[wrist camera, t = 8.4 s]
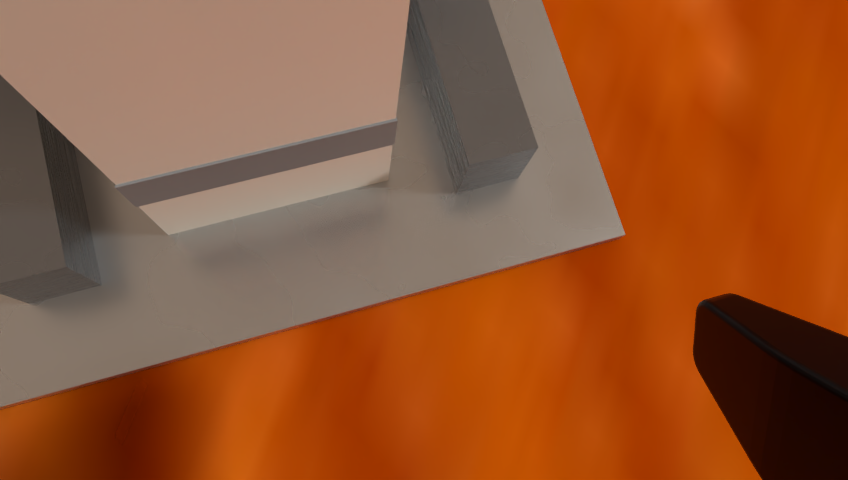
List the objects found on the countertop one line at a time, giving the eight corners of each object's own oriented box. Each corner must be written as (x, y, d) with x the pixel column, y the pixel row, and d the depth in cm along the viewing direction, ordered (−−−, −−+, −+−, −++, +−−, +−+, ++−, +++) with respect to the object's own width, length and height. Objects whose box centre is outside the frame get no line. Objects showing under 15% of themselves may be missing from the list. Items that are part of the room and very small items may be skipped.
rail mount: (619, 238, 17) (942, 15, 8) (-46, 422, 15) (-746, 430, 6) (493, -117, 19) (625, -647, 10) (-111, 0, 17) (-707, -529, 8)
